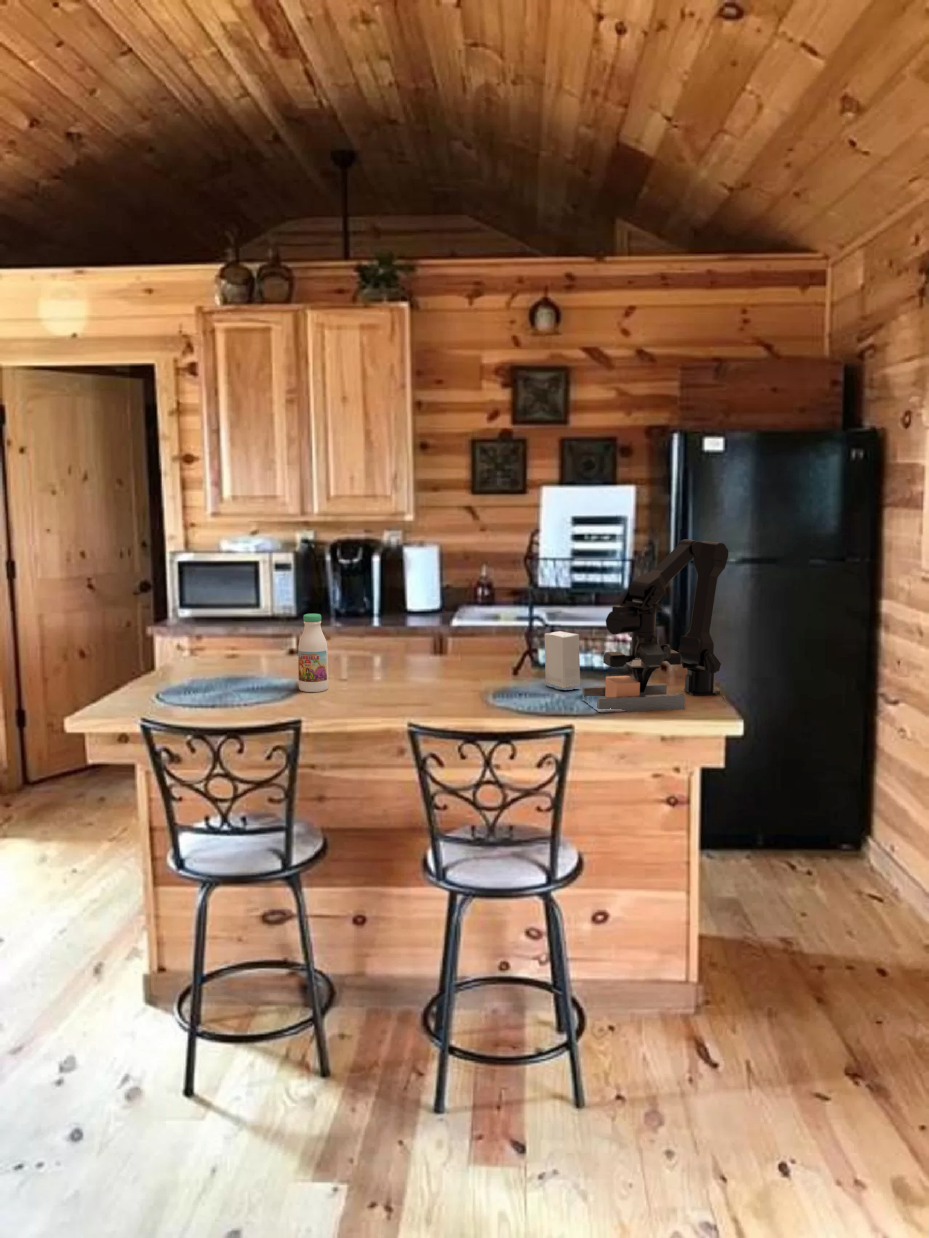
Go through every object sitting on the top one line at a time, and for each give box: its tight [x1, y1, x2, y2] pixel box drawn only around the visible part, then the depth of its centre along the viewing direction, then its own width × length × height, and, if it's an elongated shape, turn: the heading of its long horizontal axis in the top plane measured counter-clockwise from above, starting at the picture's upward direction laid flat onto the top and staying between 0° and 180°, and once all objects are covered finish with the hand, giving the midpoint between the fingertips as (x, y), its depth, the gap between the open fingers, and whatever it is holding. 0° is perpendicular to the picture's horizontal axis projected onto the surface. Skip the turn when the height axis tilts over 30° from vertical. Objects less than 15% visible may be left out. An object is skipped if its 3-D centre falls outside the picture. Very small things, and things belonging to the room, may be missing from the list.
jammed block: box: [604, 675, 640, 697], centre depth 258 cm, size 6×8×5 cm
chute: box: [581, 683, 686, 713], centre depth 259 cm, size 22×13×4 cm, turn 102°
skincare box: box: [544, 630, 581, 688], centre depth 276 cm, size 8×6×15 cm
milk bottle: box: [297, 613, 329, 693], centre depth 272 cm, size 8×8×20 cm
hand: (641, 692), depth 259 cm, fingers closed
